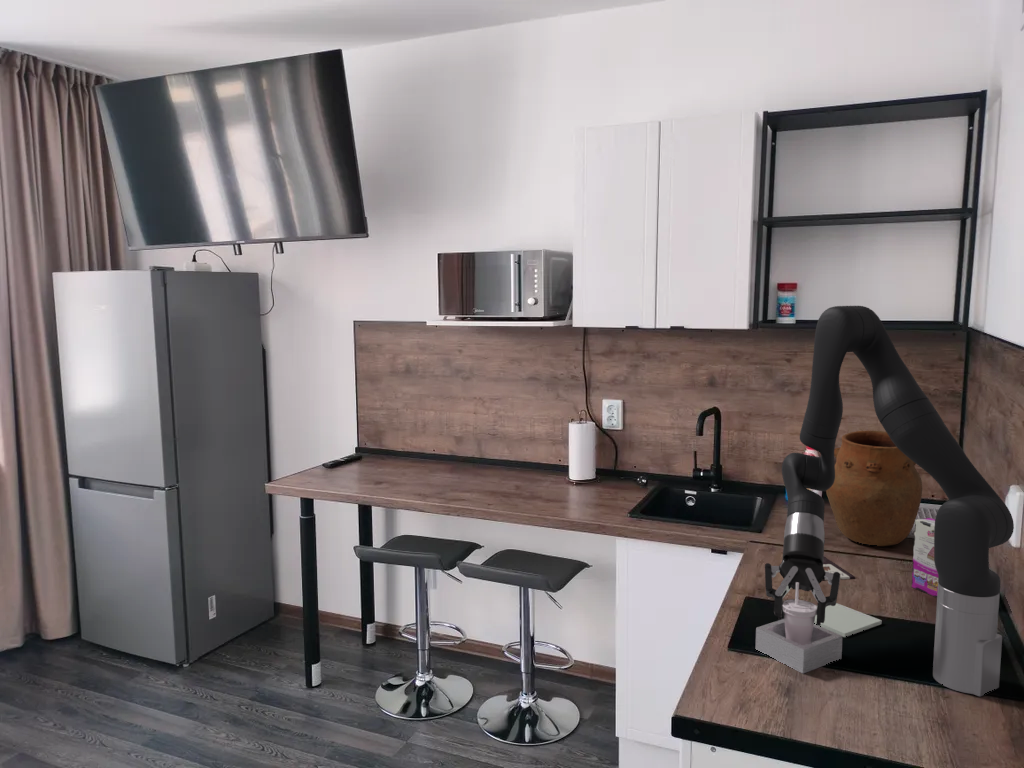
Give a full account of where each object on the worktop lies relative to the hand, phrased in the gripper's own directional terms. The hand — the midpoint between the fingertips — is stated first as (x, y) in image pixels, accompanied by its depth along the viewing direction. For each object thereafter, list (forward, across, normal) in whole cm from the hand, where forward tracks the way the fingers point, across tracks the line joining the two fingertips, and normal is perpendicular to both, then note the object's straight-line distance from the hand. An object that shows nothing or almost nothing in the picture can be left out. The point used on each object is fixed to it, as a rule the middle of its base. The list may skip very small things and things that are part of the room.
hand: (798, 620), depth 143 cm
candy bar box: (-27, +28, +38) cm, 54 cm away
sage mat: (-10, +7, +20) cm, 24 cm away
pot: (-53, +15, +63) cm, 84 cm away
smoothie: (+4, 0, +6) cm, 8 cm away
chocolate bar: (-33, +2, +44) cm, 55 cm away
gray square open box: (+4, 0, +6) cm, 8 cm away
